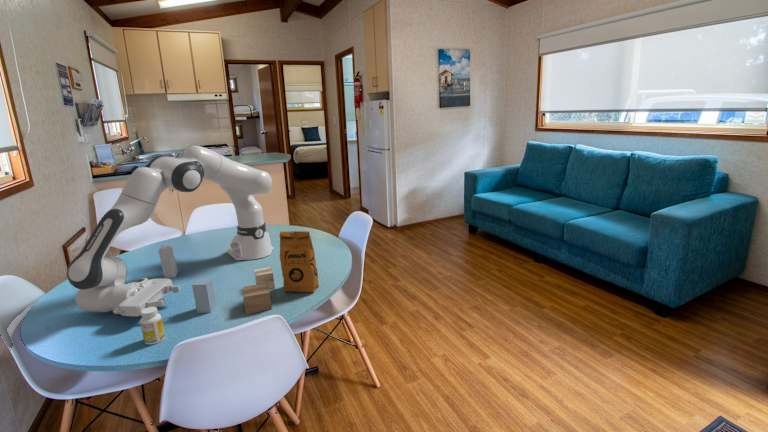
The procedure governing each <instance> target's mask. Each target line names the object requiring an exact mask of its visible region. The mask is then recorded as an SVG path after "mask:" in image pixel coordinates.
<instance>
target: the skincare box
mask: <svg viewBox="0 0 768 432" xmlns="http://www.w3.org/2000/svg"><path fill="white" fill-rule="evenodd" d="M158 254H159V259H160V263H161V268H162V274H163V276H164V277H163V278H164V279H173V278H176V277H177V276H178V273H179V270H178V266H177V261H176V257H175V253H174V247H173V245H172V244H167V245H162V246H161V245H160V247H159V249H158Z"/></svg>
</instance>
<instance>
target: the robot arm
mask: <svg viewBox="0 0 768 432" xmlns="http://www.w3.org/2000/svg"><path fill="white" fill-rule="evenodd" d="M203 179H207V181H208V180H209V181H211V182H213V183H215V184H216V185H219V187H220V188H221V190H223V191H224V192H225V193H226V194H227V195H228V197H229V199H230V201H231V202H232V205H233V207H234V209H235V213H236V215H235V216H236V221H237V225H236V226H235V227H236V235H235V236H234V237H233V238H232V239H231V242H230V244H229V245H230V248H228V249H227V250H226V253H227V254H228V255H229V256H231V257H232V258H233V259H234V260H235V261H243V260H244V261H245V260H246V261H249V260H252V261H253V260H260V259H262V258H265V257H268V256H269V255H271V254H272V251H273V250H274V249H275V247H274V246H272V244H271V239H270V234H269V232H268V231H267V226H266V225H267V224H266V222H265V220H264V219H265V218H264V212H263V211H264V210H263V207H262V205H261V204H260V203H259V201H257V200H256V198H255V197H254V196H261V195H265V194H268V193H269V192H270V191H271V189H272V186H273V179H272V176H271V174H270V173H269V172H267V171H264V170H261V169H257V168H255V167H253V166H249V165H246V164H244V163H241V162H238V161H235V160H232V159H230V158H228V157H227V156H225V155H222V154H220V153H218V152H217V151H214V150H212V149H210V148H207V147H205V146H200V145H197V144H196V145H190V146H188V147H187V148H186V149H185V150H184V151H183V154H182V156H181V157H179V158H177V157H173V156H169V155H166V154H165V155H162V154H161V155H157V156H155V157H152V159H150V160H149V162H147V164H146V165H145V166H143V167H138V168H136V169H135V170H134V171H133V172H132V173H131V174H130V176H129V178H128V179H127V180H126V182H125V184H124V185H123V188H122V189H121V193H120V194H119V196H118V198H117V200H116V202H115V203H114V204H113V205H112V207H111V208H110V209H109V210H108V211H106V212H105V213H104V214H103V216H102V217H101V218H100V220H99V221H98V223H97V225H96V227H95V228H94V230H93V231H92V232H91V234H90V235H89V238H88V239H87V241H86V242H85V244H84V246H83V247H82V249H81V250H80V252H79V253H78V254H76V255H77V256H75V257H74V258H73V259H71V260H72V261H70V263H69V264H68V265H67V270H66V278H67V280H68V282H69V284H70V285H71V286H72V287H74V288H76V289H78V290H77V291H76V294H75V303H76V306H78V307H79V309H81V310H83V311H85V312H89V313H109V312H111V311H112V313H113V314H115V315H121V316H123V317H140V316H141V311H142V310H143V309H145V308H148V307H156V308H158V307H163V306H164V305H166V300H165V298H163V297H165V296H166V295H167V294H168V293H170V292H172V293H173V294H177V293H178V292H180V291H181V287H180V286H179V285H173V281H172V279H171V278H166V279H165V278H151V279H149V278H147V277H142V278H140V279H138V280H135V281H132V282H128V283H126V281H127V276H128V267H127V264H126V262H125V261H124V260H123V259H121V258H120V257H118V256H117V257H116V256H107V253H108V252H109V249H110V248H111V246H112V245H113V243H114V242H115V240H116V237H117V236H119V235H120V234H121V233H122V232H124V231H126V230H129V229H130V228H133V227H136V226H139V225H143V224H144V223H146V222H147V221H149V220H150V218H151V217H152V216H153V214H154V212H155V210H156V207H157V205H158V202H159V200H160V197H161V195H162V193H163V192H164V191H166V189H168V188H169V189H172V190H174V191H178V192H182V193H192V192H194V191H196V190H197V189H198V188H199V187H200V186H201V185H202V182H203Z"/></svg>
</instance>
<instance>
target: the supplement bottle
mask: <svg viewBox="0 0 768 432" xmlns="http://www.w3.org/2000/svg"><path fill="white" fill-rule="evenodd" d="M158 312H159V311H158V307H148V308H145V309H143V310H142V311H141V315H140V316H141V318H140V320H139V323H140V328H141V332H142V337H143V341H144V344H146V345H151V346H152V345H156V344H159V343H161V342H162V341H163V340H165V339H166V332H165V328H164V324H163V319H162V318H163V317H162V315H161V314H160V313H158Z"/></svg>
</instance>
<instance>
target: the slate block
mask: <svg viewBox="0 0 768 432" xmlns="http://www.w3.org/2000/svg"><path fill="white" fill-rule="evenodd" d="M191 287H192V292H193V293H192V294H193V297H194V302H195V303H194V304H195V308H196V313H197V314H207V313H208V314H209V313H210V314H211V313H212V312H213V311H214V310H215V308H216V307H217V300H216V296H215V295H216V294H215V289H214V284H213V278H198V279H197V280H196V281H195V282H194V283H192V284H191Z"/></svg>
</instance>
